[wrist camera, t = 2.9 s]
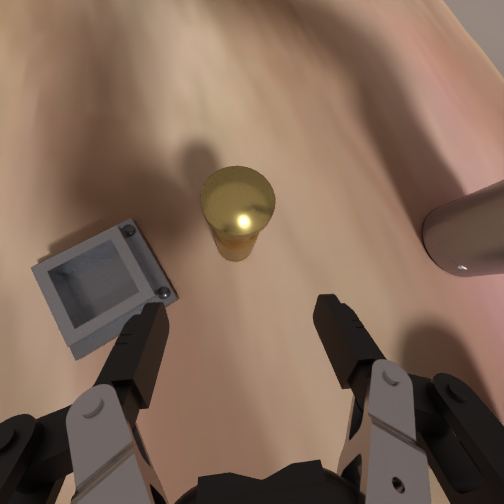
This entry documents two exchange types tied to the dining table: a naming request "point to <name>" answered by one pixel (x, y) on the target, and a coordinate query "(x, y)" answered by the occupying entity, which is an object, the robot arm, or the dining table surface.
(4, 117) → the dining table surface
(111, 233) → the square tray with knobs
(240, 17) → the dining table surface
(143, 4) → the dining table surface
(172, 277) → the dining table surface
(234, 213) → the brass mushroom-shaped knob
